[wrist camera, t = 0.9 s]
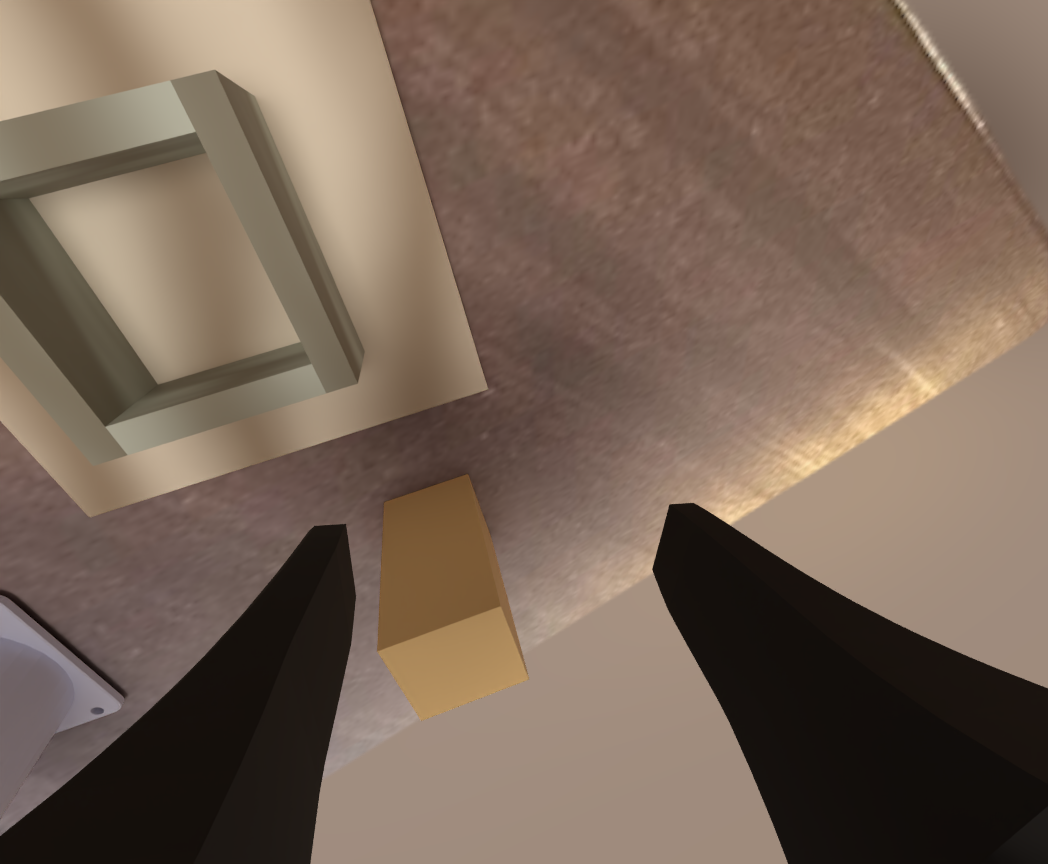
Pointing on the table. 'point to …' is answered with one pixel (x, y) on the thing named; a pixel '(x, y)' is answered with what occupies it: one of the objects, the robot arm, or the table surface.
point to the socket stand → (210, 241)
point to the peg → (444, 601)
